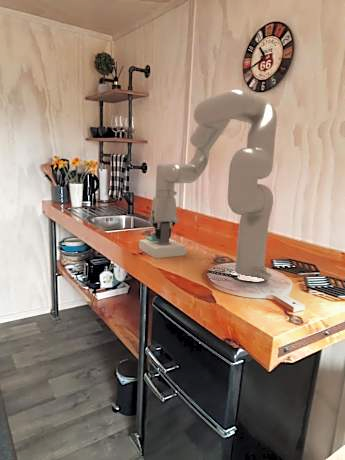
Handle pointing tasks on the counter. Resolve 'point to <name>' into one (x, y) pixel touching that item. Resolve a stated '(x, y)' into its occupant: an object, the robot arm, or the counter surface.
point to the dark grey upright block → (164, 232)
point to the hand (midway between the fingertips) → (163, 237)
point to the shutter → (152, 237)
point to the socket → (162, 248)
